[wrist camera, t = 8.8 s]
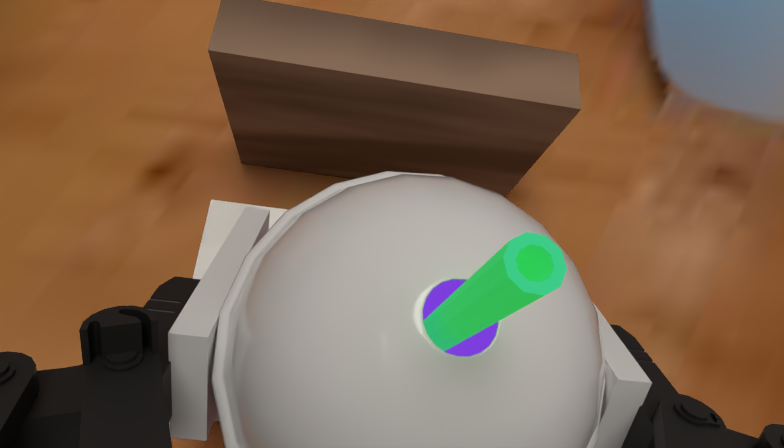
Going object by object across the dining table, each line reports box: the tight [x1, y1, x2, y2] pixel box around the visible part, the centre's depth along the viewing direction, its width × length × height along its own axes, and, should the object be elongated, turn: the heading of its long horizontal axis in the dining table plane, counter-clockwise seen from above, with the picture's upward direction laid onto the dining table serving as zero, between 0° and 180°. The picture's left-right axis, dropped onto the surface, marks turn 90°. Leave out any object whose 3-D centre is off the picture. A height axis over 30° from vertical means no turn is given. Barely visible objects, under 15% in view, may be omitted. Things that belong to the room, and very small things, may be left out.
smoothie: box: [211, 171, 606, 448], centre depth 14 cm, size 8×8×20 cm
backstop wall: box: [208, 0, 581, 197], centre depth 27 cm, size 3×16×10 cm, turn 85°
